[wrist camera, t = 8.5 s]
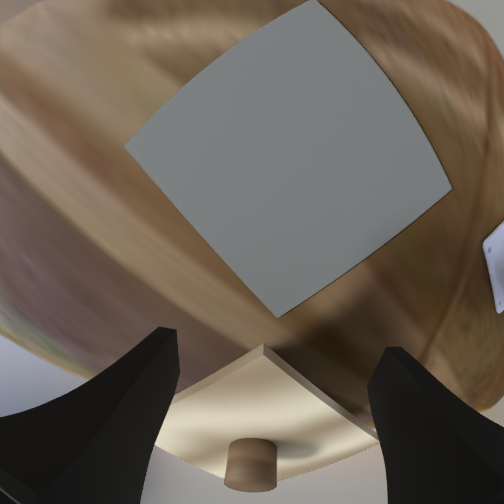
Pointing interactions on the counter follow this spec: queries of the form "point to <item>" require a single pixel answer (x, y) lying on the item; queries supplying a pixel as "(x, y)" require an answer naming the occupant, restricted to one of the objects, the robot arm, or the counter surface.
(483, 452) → the robot arm
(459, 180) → the counter surface
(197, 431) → the lid
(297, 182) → the mat
